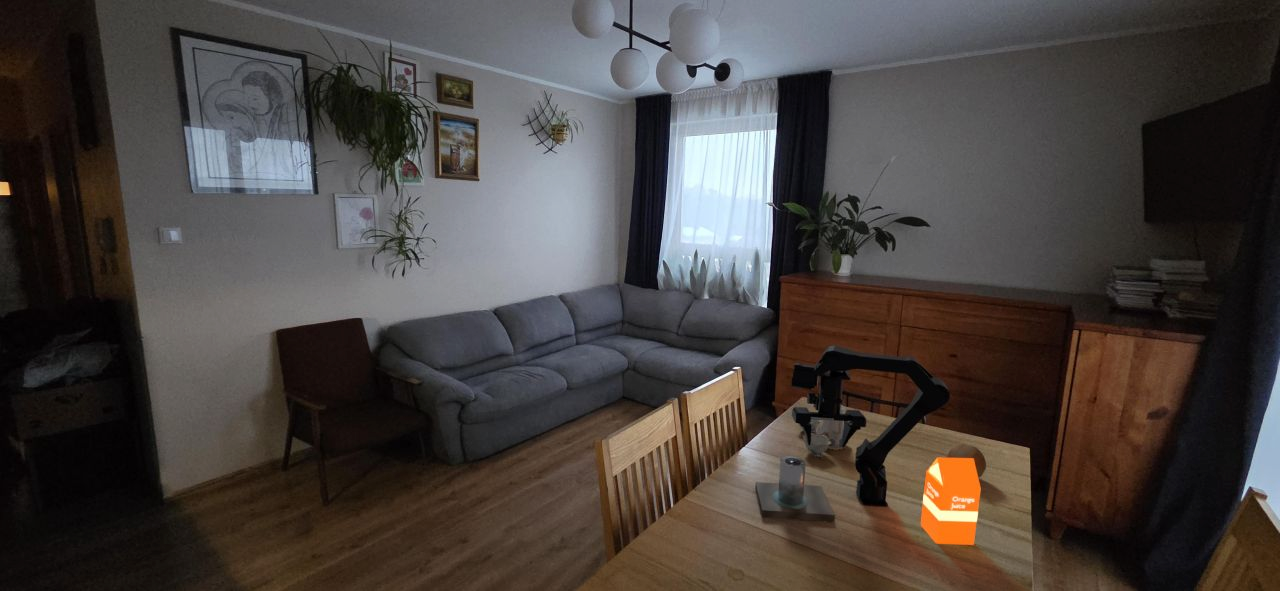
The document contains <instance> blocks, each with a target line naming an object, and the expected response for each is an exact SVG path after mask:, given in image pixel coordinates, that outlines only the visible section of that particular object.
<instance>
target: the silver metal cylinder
mask: <svg viewBox="0 0 1280 591" xmlns="http://www.w3.org/2000/svg"><path fill="white" fill-rule="evenodd" d="M805 477H806V461H805V460H804V459H802V458H800V457H797V456H791V455H788V456H782V457H781V458H780V459H779V477H778V483H779V490H778V499H779V500H780V501H781V502H782V503H784V504H787V505H791V506H797V505H801V504H802V503H803V496H804V485H805V482H806V481H805V479H806V478H805Z"/></svg>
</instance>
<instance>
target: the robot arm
mask: <svg viewBox="0 0 1280 591" xmlns="http://www.w3.org/2000/svg"><path fill="white" fill-rule="evenodd" d="M852 370H866V371H874V372H882V373H893V374H902V375H907V376H908V378H910V379H911V380H912V382H913V384H915V386H916V387H917V388H918V389H917V390H916V392H915V394H914V397H913V398H912V401H911V402H910V404H909V405H908V406H906V408H905V409H904V410H902V412H901V413H900V414H899V415H898V416H897V417H896V418H895V419H894V420H893V421H892V422H891V423H890V424H889V425H888V426H887V427H886V428H885V430H883V431H882V433H881V434H880V435H879V436H878V437H877V438H875V439H874V440H871V441H870V440H868V439H867V438H864V440H863V441H862V443H861V444H860V445H859V446H857V447H856V450H855V451H856V452H855V457H854V458H855V460H854V461H855V462H854V465H855V466H854V467H855V470H856V472H857V473H858V474H859V479H858V480H857V481H856V491H855V494H856V496H857V498H858V499H859V500H860V502H861V503H862V505H863V506H875V507H888V506H889V504H888V502H887V501H886V499H887V490H888V481H887V474H886V473H887V471H886V466H885V465H884V464H885V461H886V458H887V456H888V455H889V453H890V452H891V451H892V450H893V449H894V448H895V447H896V446H897V445H898V444H899V443H900V442H901V441H902V440H903V439H904V438H905V437H906V436H907V435H908V434H909V433H910V432H911V431H912V430H913V429H914V428H915V427H916V426H917V425H918V423H920V422H921V421H922V420H923V418H924V417H926V416H927V415H930V414H932V413H935V412H937V411H938V410H939V409H941V408H943V407H944V406H946V405H947V404H948V403H949V401H950V399H951V395H950V392H949V389H948V387H947V385H946V383H945V382H944V381H943V380H942V379H940V378H939V377H934V375H932V374H931V373H930V372H929V371H928V370H927V369H926V368H925V367H924V366H923V365H921V363H919V361H918V359H917V358H915V357H913V356H906V357H905V356H897V355H885V354H874V353H863V352H857V351H854V350H852V349H849V348H846V347H843V346H839V345H838V346H837V345H831V346H828V347H827V348H825V350H824V351H823V354H822V356H821V358H820V359H819V360H818V361H817V362H816V363H815V365H809V364H803V363H800V362H795V363H794V365H793V372H792V376H791V388H796V389H804V390H809V391H810V390H811V391H813V390H814V389H815V388H818V384H819V383H820V384H819V391H818V394H817V396H816V393H815V392H807V394H806V395H807V397H806V403H807V405H809V404H810V405H813V408H815V411H809V409H808V407H802V406H794V407H793V408H792V409H791V418H792V419H793V421H794V422H795V423H796V424H797V425H798V426H799V425H800V426H802V427H803V428H804V431H805V433H804V435H806V439H807V443H808V445H809V446H810V443H811V424H810V422H811V419H818V420H821V421H823V420H836V421H843V425H844V430H843V436H842V447H843V449H845V448H846V445H848V443H849V441H850V440H851V438H852V436H853V435H854V434H855V433H856V432H857V431H860V430H861V429H862V428H866V427H867V417H865V416H864V414H863V413H862V412H861V411H860V410H858V409H857V410H856V409H846V410H844V411H845V413H843V414H840V407H841V405H842V404H843V399H842V395H843V394H842V393H843V384H844V381H851V378H852V376H851V374H850V373H849V372H848V371H852ZM819 377H820V379H819ZM819 380H820V382H819ZM800 426H799V427H800ZM847 442H848V443H847ZM844 447H845V448H844Z"/></svg>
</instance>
